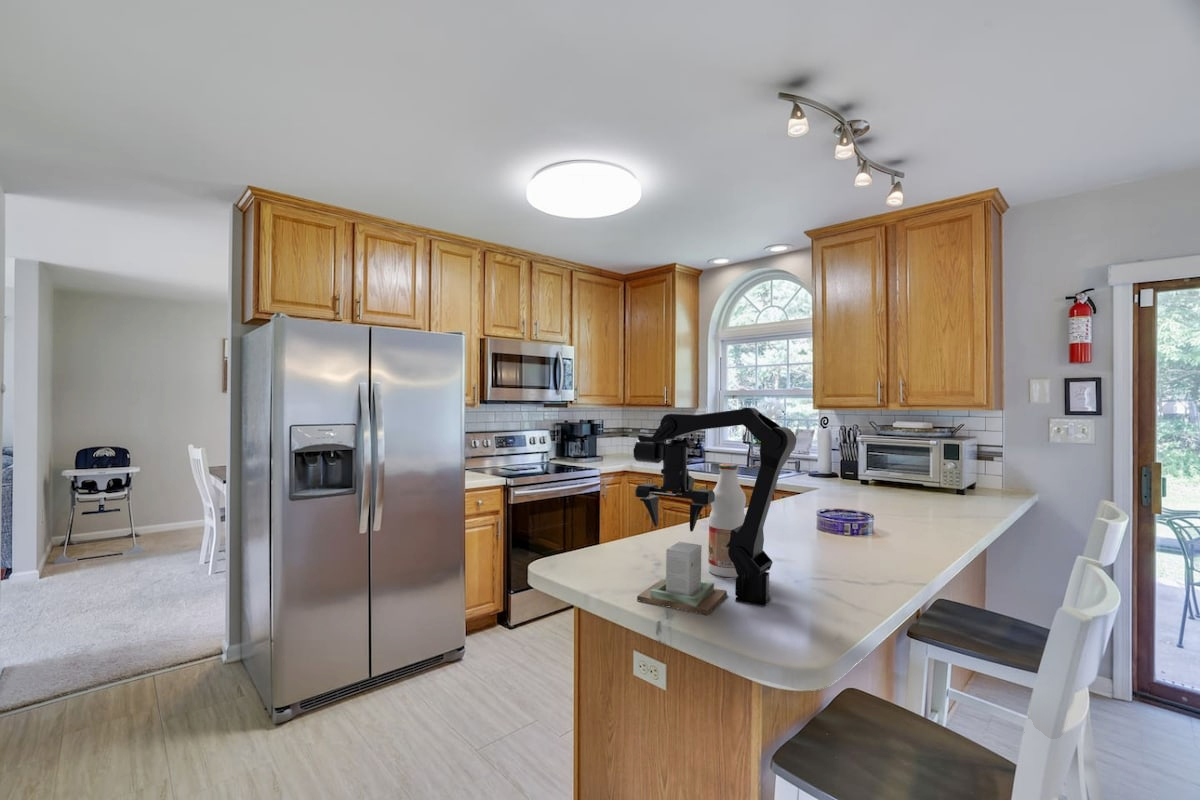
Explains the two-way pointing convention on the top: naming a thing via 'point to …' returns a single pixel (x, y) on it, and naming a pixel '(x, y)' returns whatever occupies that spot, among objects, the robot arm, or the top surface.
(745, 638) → the top surface
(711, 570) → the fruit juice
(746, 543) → the robot arm
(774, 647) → the top surface
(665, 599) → the board
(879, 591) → the top surface
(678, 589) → the small box
